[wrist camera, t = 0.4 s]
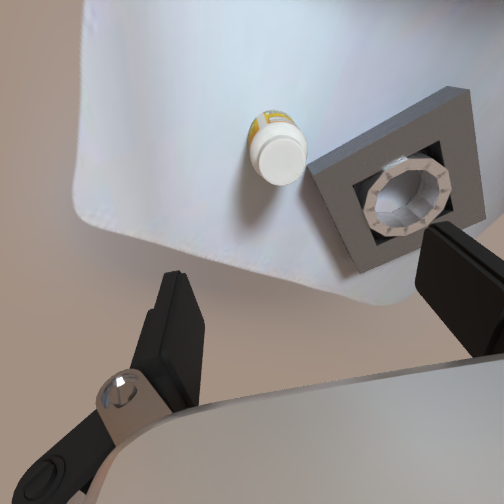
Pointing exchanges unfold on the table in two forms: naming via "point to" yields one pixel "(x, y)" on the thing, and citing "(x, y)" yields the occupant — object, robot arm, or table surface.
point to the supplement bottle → (277, 148)
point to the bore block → (396, 162)
